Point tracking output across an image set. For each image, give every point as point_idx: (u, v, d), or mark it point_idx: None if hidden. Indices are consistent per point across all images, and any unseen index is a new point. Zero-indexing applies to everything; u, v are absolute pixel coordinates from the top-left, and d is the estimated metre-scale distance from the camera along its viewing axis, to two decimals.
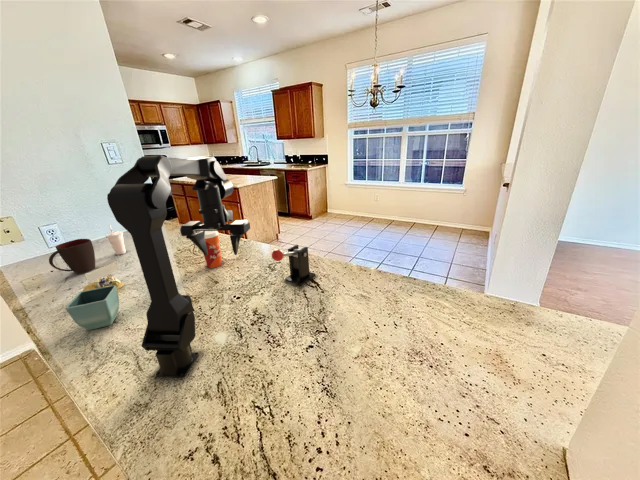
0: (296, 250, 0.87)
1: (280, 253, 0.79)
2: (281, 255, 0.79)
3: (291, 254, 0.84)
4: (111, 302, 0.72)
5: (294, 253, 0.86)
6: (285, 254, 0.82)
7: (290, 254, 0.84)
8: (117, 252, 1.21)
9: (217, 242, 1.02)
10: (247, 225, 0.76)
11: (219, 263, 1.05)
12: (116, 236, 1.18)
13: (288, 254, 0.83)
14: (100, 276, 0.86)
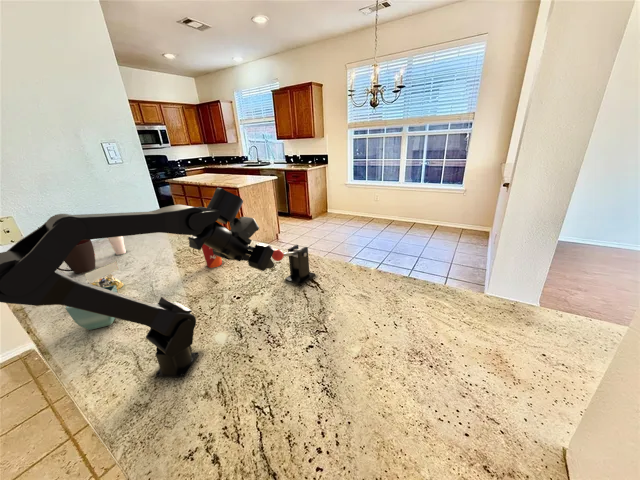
0: (296, 250, 0.87)
1: (280, 253, 0.79)
2: (281, 255, 0.79)
3: (291, 254, 0.84)
4: None
5: (294, 253, 0.86)
6: (285, 254, 0.82)
7: (290, 254, 0.84)
8: (117, 252, 1.21)
9: None
10: (268, 254, 0.63)
11: (219, 263, 1.05)
12: None
13: (288, 254, 0.83)
14: (100, 276, 0.86)
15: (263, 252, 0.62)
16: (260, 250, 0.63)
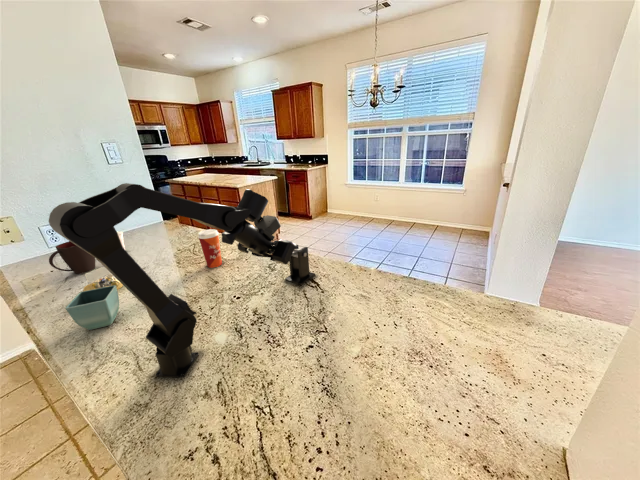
0: (296, 250, 0.87)
1: None
2: None
3: None
4: (111, 302, 0.72)
5: (294, 253, 0.86)
6: None
7: None
8: None
9: (217, 242, 1.02)
10: (290, 249, 0.70)
11: (219, 263, 1.05)
12: None
13: None
14: (100, 276, 0.86)
15: (286, 247, 0.69)
16: (283, 245, 0.69)
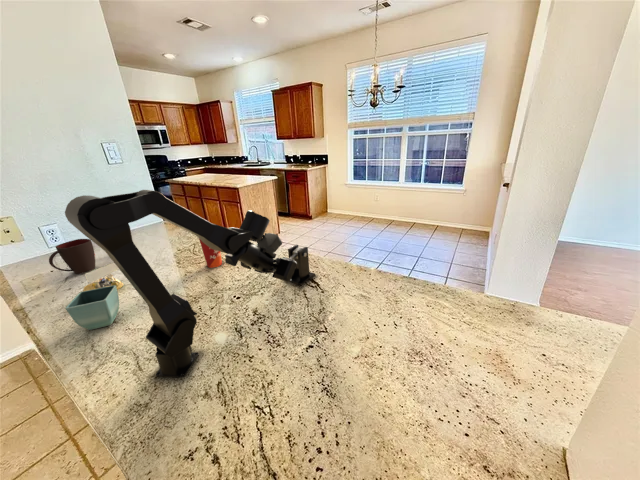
0: (295, 253, 0.87)
1: None
2: None
3: None
4: (111, 302, 0.72)
5: (294, 257, 0.86)
6: None
7: None
8: None
9: None
10: (292, 267, 0.72)
11: (219, 263, 1.05)
12: None
13: None
14: (100, 276, 0.86)
15: (288, 266, 0.71)
16: (285, 264, 0.71)
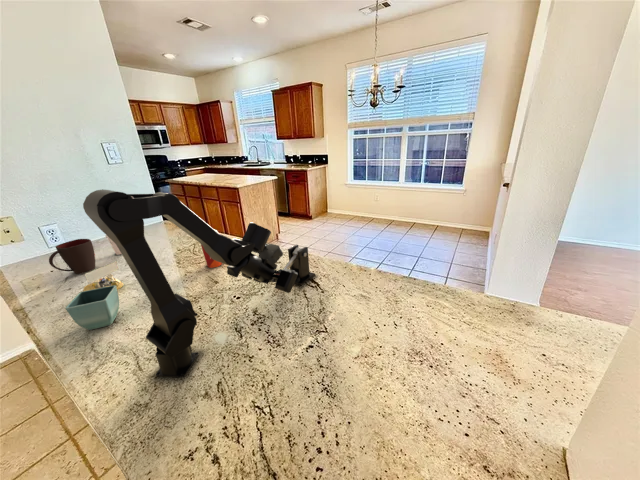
0: (295, 254, 0.87)
1: None
2: None
3: (292, 262, 0.86)
4: (111, 302, 0.72)
5: (295, 258, 0.86)
6: (287, 268, 0.84)
7: (291, 263, 0.85)
8: (117, 252, 1.21)
9: None
10: (292, 279, 0.73)
11: (219, 263, 1.05)
12: None
13: (290, 265, 0.85)
14: (100, 276, 0.86)
15: (289, 277, 0.72)
16: (286, 275, 0.72)
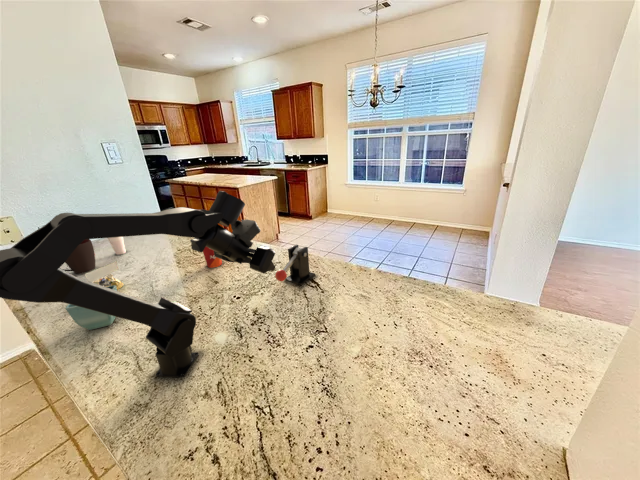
0: (295, 254, 0.87)
1: (282, 276, 0.81)
2: (284, 276, 0.82)
3: (292, 262, 0.86)
4: None
5: (295, 258, 0.86)
6: (287, 268, 0.84)
7: (291, 263, 0.85)
8: (117, 252, 1.21)
9: None
10: (269, 257, 0.63)
11: (219, 263, 1.05)
12: None
13: (290, 265, 0.85)
14: (100, 276, 0.86)
15: (264, 255, 0.63)
16: (261, 253, 0.63)
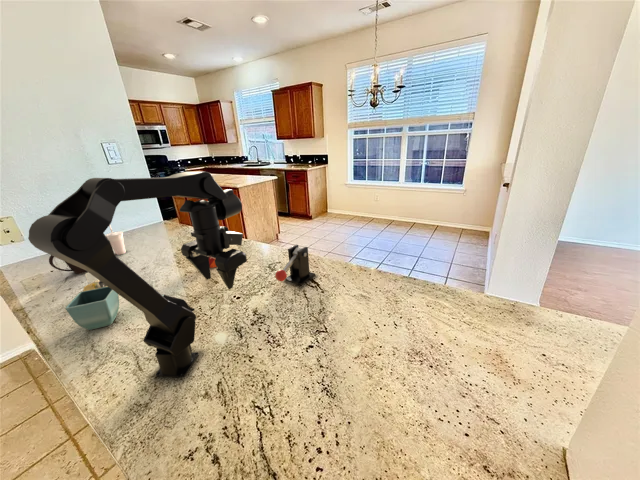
0: (295, 254, 0.87)
1: (282, 276, 0.81)
2: (284, 276, 0.82)
3: (292, 262, 0.86)
4: (111, 302, 0.72)
5: (295, 258, 0.86)
6: (287, 268, 0.84)
7: (291, 263, 0.85)
8: (117, 252, 1.21)
9: None
10: (240, 259, 0.60)
11: None
12: (116, 236, 1.18)
13: (290, 265, 0.85)
14: None
15: (237, 253, 0.60)
16: (235, 252, 0.61)
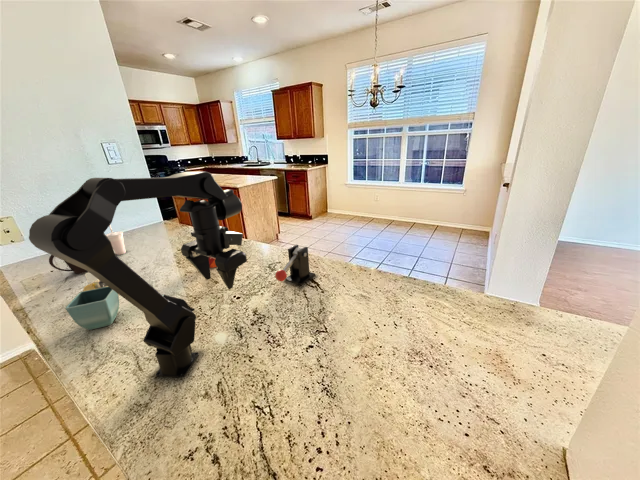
0: (295, 254, 0.87)
1: (282, 276, 0.81)
2: (284, 276, 0.82)
3: (292, 262, 0.86)
4: (111, 302, 0.72)
5: (295, 258, 0.86)
6: (287, 268, 0.84)
7: (291, 263, 0.85)
8: (117, 252, 1.21)
9: None
10: (240, 259, 0.60)
11: None
12: (116, 236, 1.18)
13: (290, 265, 0.85)
14: None
15: (237, 253, 0.60)
16: (235, 252, 0.61)
